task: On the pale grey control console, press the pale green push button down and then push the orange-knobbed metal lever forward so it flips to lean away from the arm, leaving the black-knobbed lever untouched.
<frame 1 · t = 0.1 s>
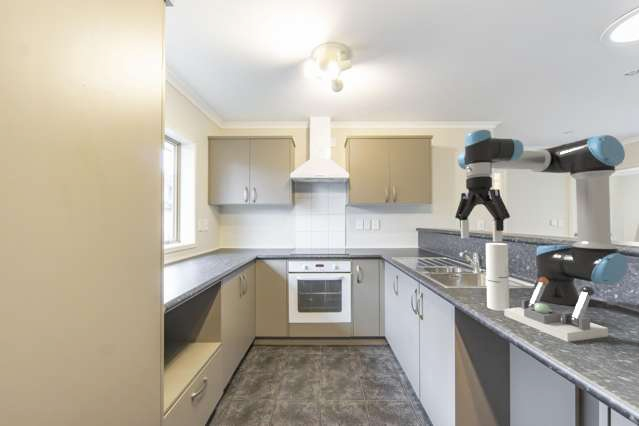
hand: (480, 239, 88), 28 cm above the countertop, fingers open, 13 cm apart
cylindrical container: (498, 308, 101), on the countertop
panel: (551, 325, 85), on the countertop
lever 2: (581, 305, 79), point 8 cm above the countertop, hinge at -30.0°
button: (541, 309, 84), point 6 cm above the countertop, slide at 0.0 cm
lever 1: (538, 293, 91), point 8 cm above the countertop, hinge at -30.0°
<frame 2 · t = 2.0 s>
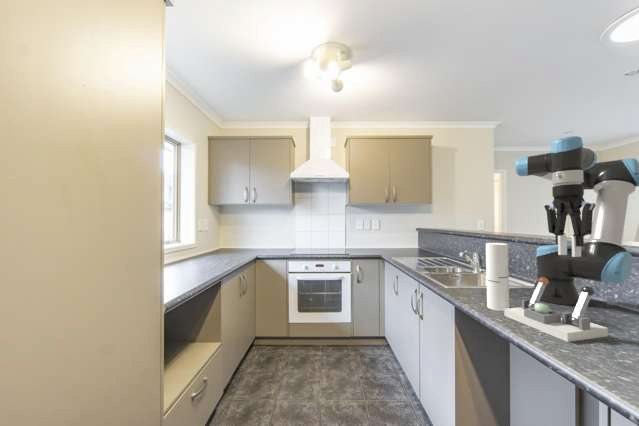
hand: (569, 255, 85), 23 cm above the countertop, fingers open, 3 cm apart
nothing on the countertop moved.
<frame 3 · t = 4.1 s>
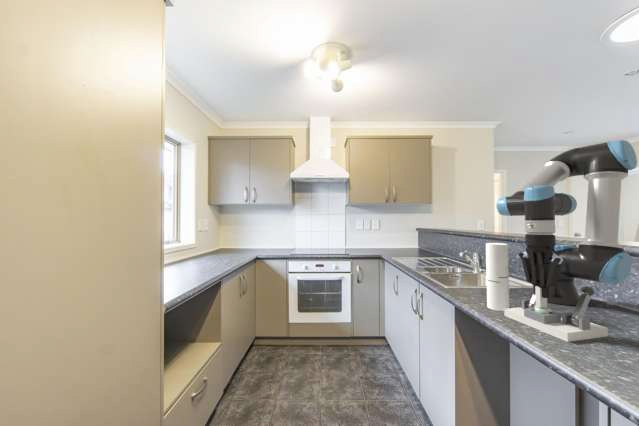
hand: (541, 306, 83), 6 cm above the countertop, fingers closed
button: (541, 312, 83), point 5 cm above the countertop, slide at 0.9 cm, touching gripper
everything else where it was.
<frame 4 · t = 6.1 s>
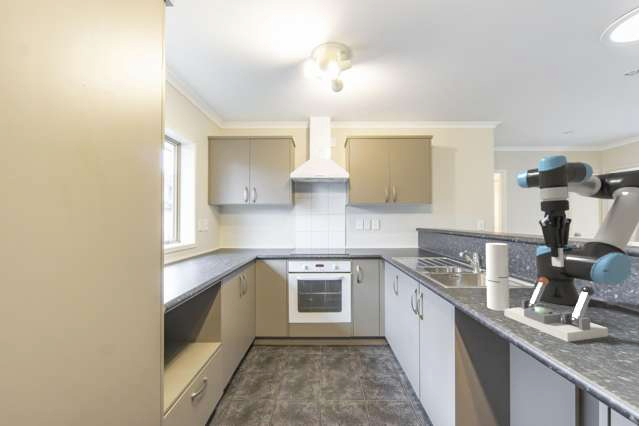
hand: (557, 266, 92), 18 cm above the countertop, fingers closed
button: (541, 313, 83), point 4 cm above the countertop, slide at 1.2 cm
everything else where it was.
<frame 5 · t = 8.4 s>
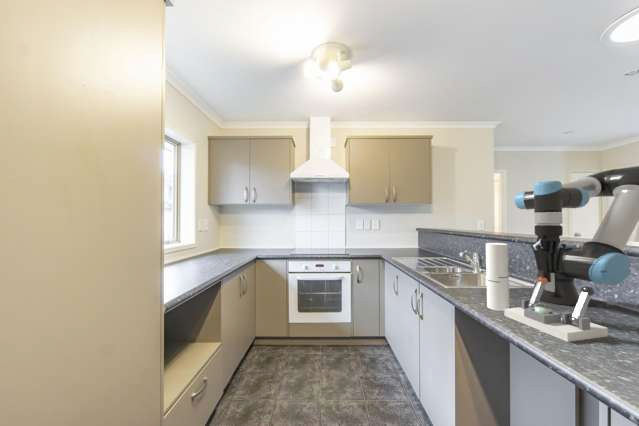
hand: (549, 290, 92), 9 cm above the countertop, fingers closed
lever 1: (537, 293, 91), point 9 cm above the countertop, hinge at -27.3°, touching gripper
everything else where it was.
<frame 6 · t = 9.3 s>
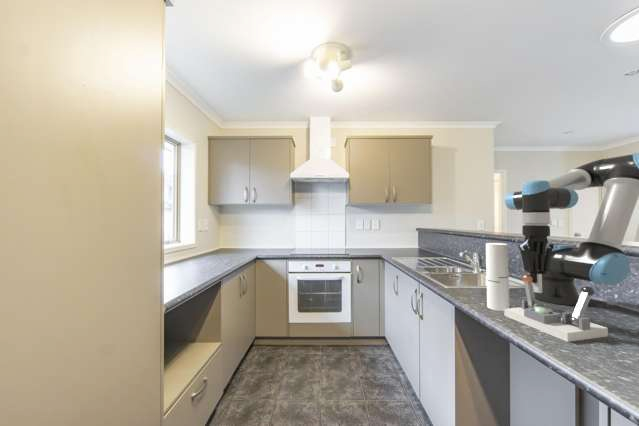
hand: (536, 291, 91), 9 cm above the countertop, fingers closed
lever 1: (529, 292, 91), point 9 cm above the countertop, hinge at 10.4°, touching gripper
everything else where it was.
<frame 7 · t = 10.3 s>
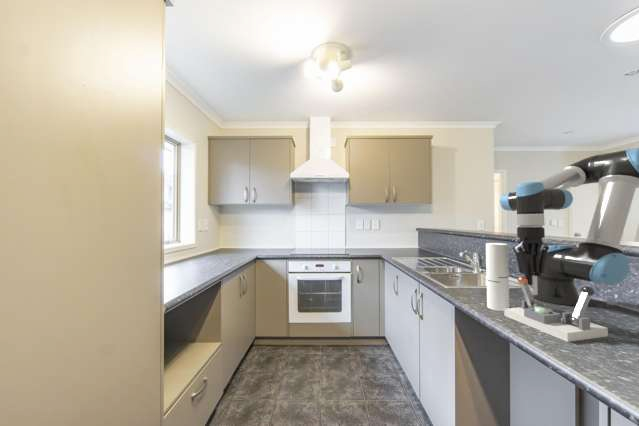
hand: (532, 293, 91), 8 cm above the countertop, fingers closed
lever 1: (527, 293, 90), point 9 cm above the countertop, hinge at 22.4°, touching gripper
everything else where it was.
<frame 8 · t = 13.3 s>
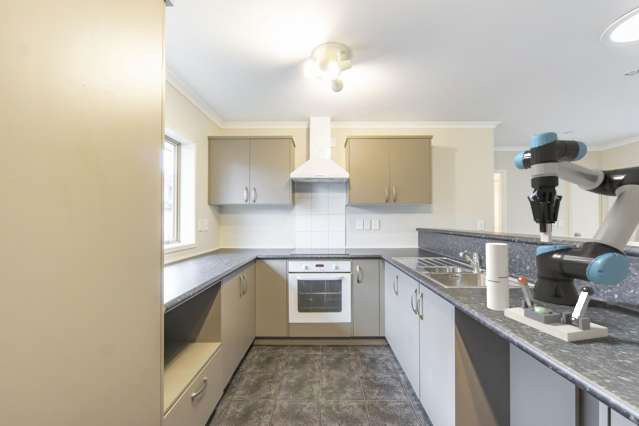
hand: (546, 241, 94), 26 cm above the countertop, fingers closed
lever 1: (527, 293, 90), point 9 cm above the countertop, hinge at 22.4°
everything else where it was.
at the end: lever 1 at +22° (first picture: -30°); button slide at 1.2 cm; lever 2 at -30° (first picture: -30°) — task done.
